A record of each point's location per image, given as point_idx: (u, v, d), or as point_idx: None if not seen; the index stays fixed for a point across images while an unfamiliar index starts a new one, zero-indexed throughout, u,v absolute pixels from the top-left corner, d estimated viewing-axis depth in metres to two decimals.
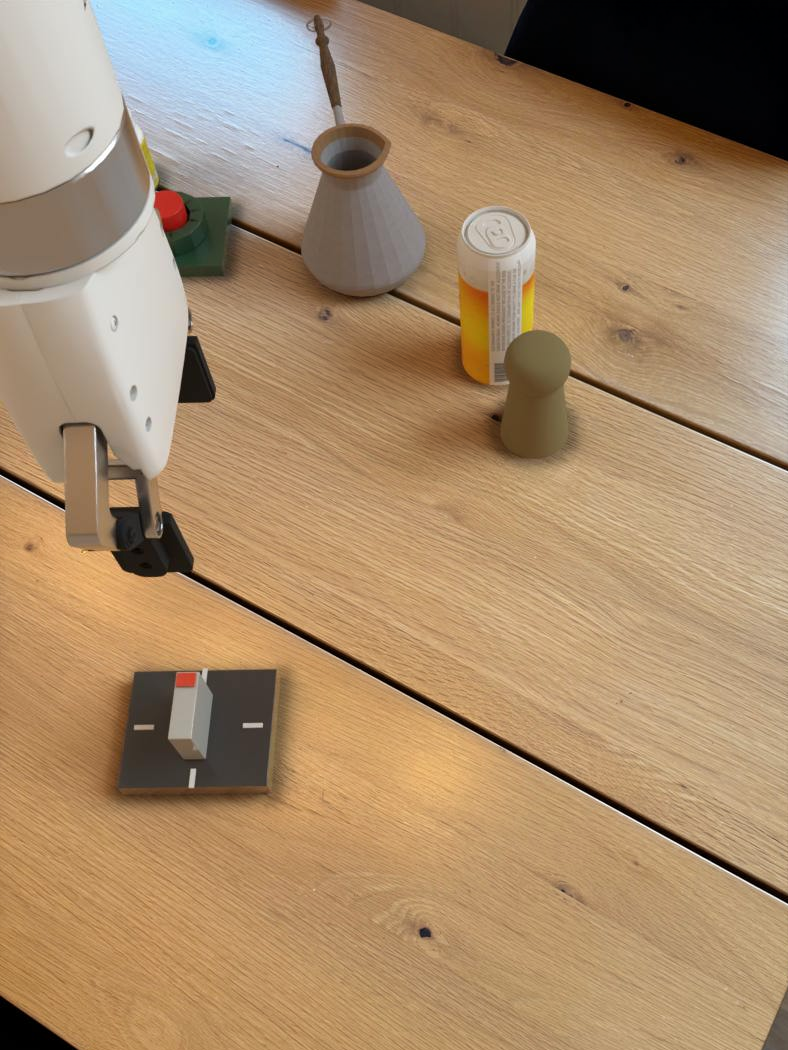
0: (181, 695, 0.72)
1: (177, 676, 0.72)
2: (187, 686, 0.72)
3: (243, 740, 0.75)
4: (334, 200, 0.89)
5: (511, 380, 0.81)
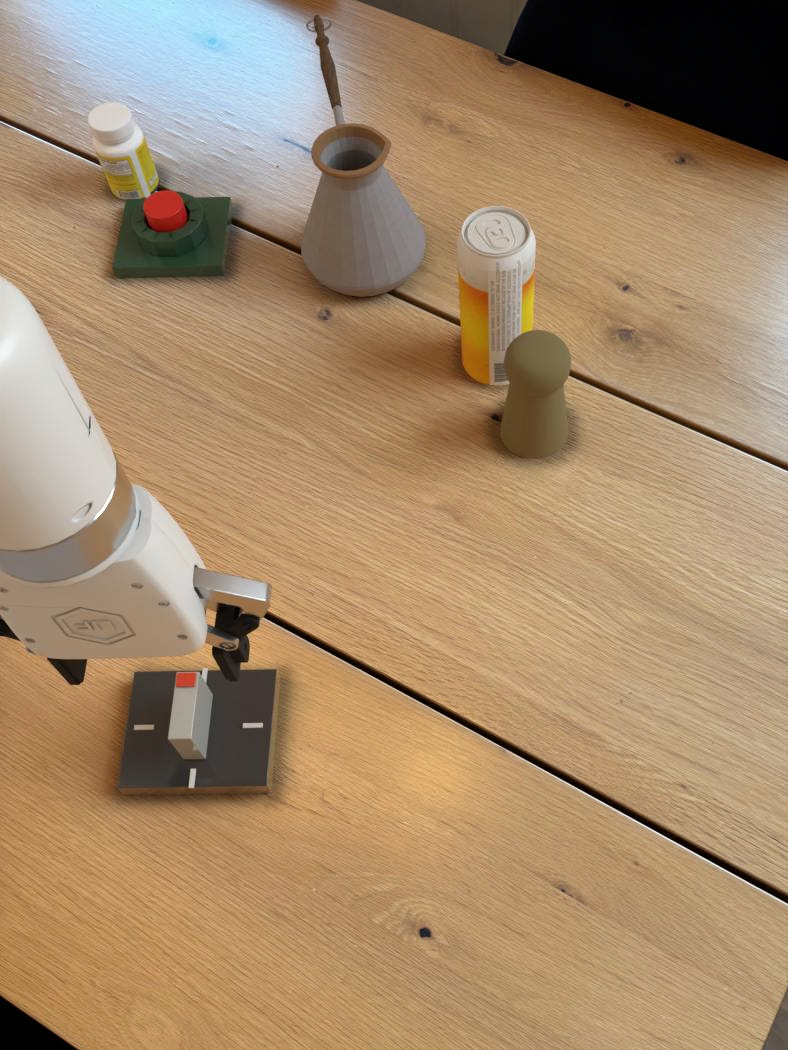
0: (181, 695, 0.72)
1: (177, 676, 0.72)
2: (187, 686, 0.72)
3: (243, 740, 0.75)
4: (334, 200, 0.89)
5: (511, 380, 0.81)
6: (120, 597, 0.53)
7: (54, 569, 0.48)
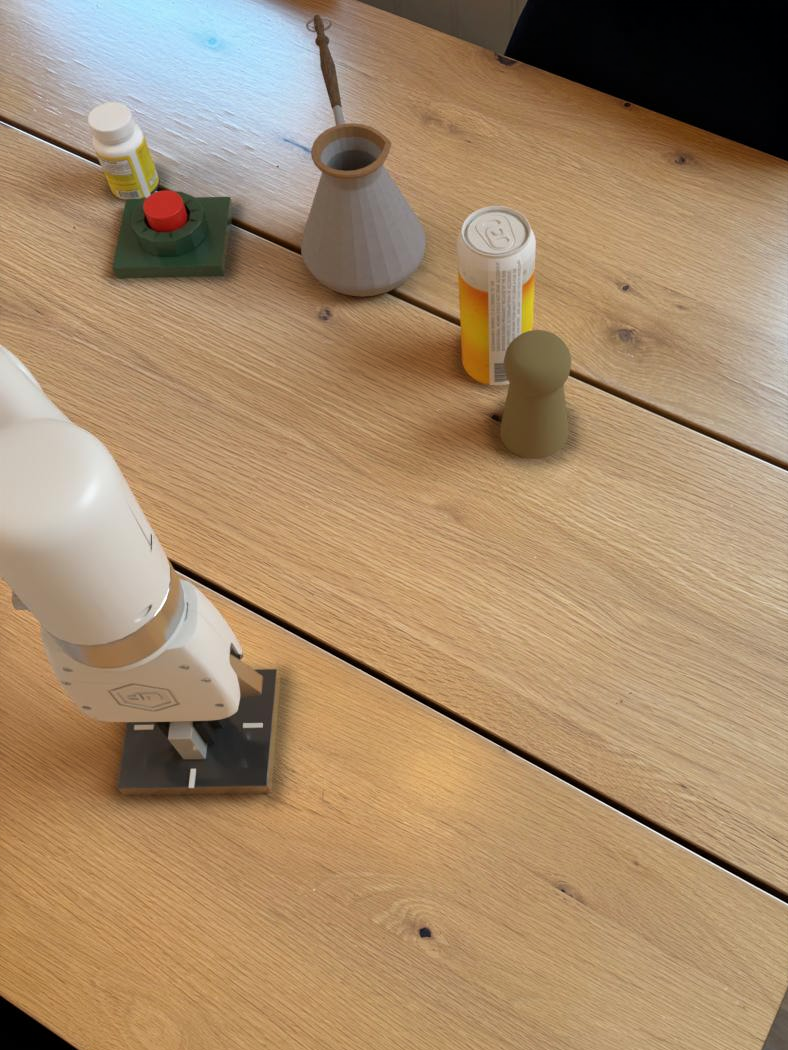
0: None
1: None
2: None
3: (243, 740, 0.75)
4: (334, 200, 0.89)
5: (511, 380, 0.81)
6: (169, 676, 0.61)
7: (117, 658, 0.57)
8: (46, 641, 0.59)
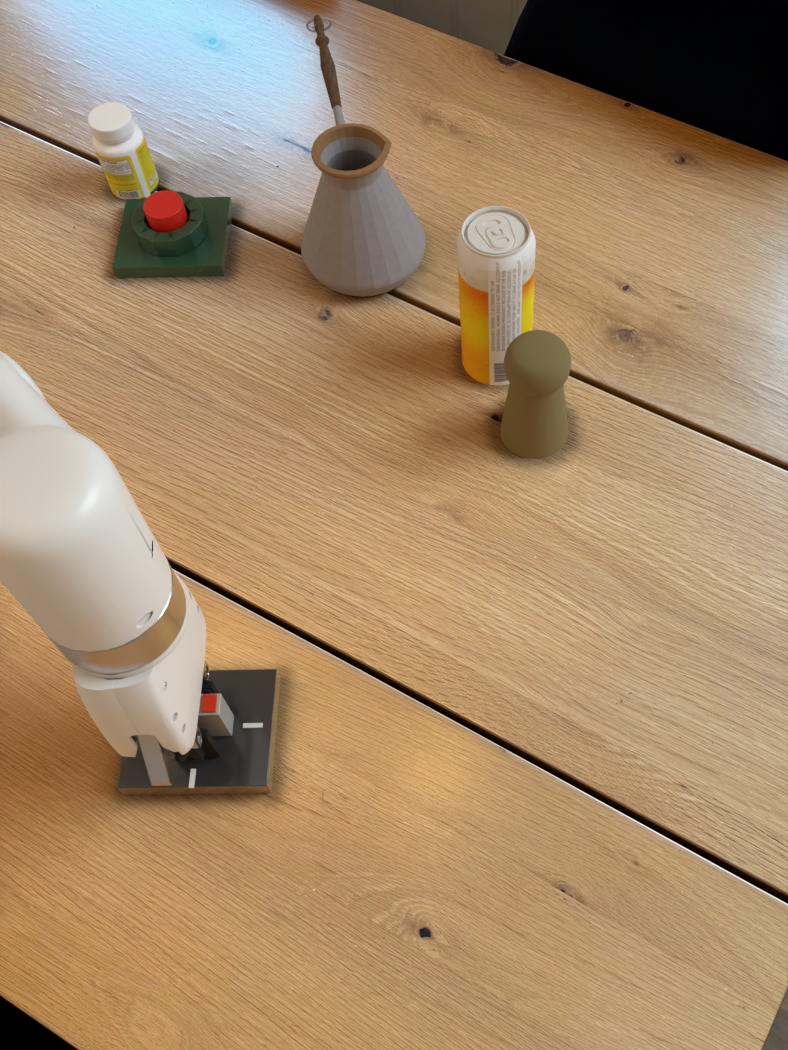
0: None
1: (214, 694, 0.72)
2: (202, 705, 0.72)
3: (243, 740, 0.75)
4: (334, 200, 0.89)
5: (511, 380, 0.81)
6: None
7: None
8: None
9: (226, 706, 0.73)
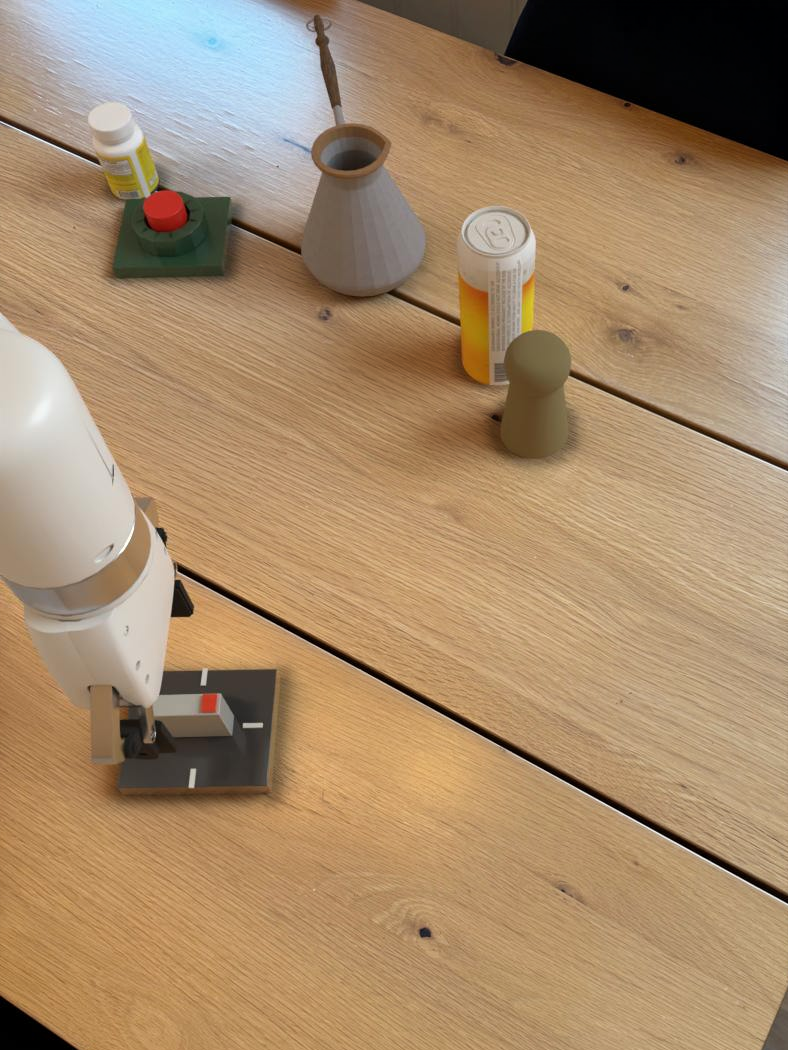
0: (194, 701, 0.72)
1: (214, 694, 0.72)
2: (202, 705, 0.72)
3: (243, 740, 0.75)
4: (334, 200, 0.89)
5: (511, 380, 0.81)
6: None
7: None
8: None
9: (226, 706, 0.73)
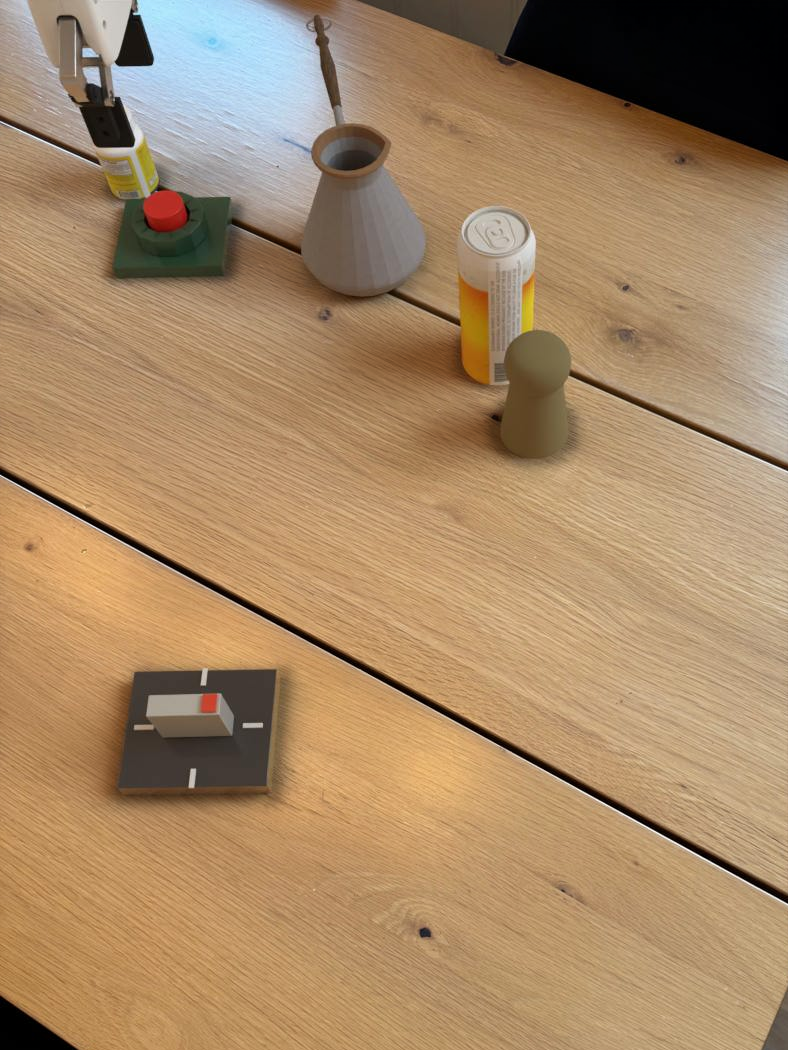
0: (194, 701, 0.72)
1: (214, 694, 0.72)
2: (202, 705, 0.72)
3: (243, 740, 0.75)
4: (334, 200, 0.89)
5: (511, 380, 0.81)
6: None
7: None
8: None
9: (226, 706, 0.73)
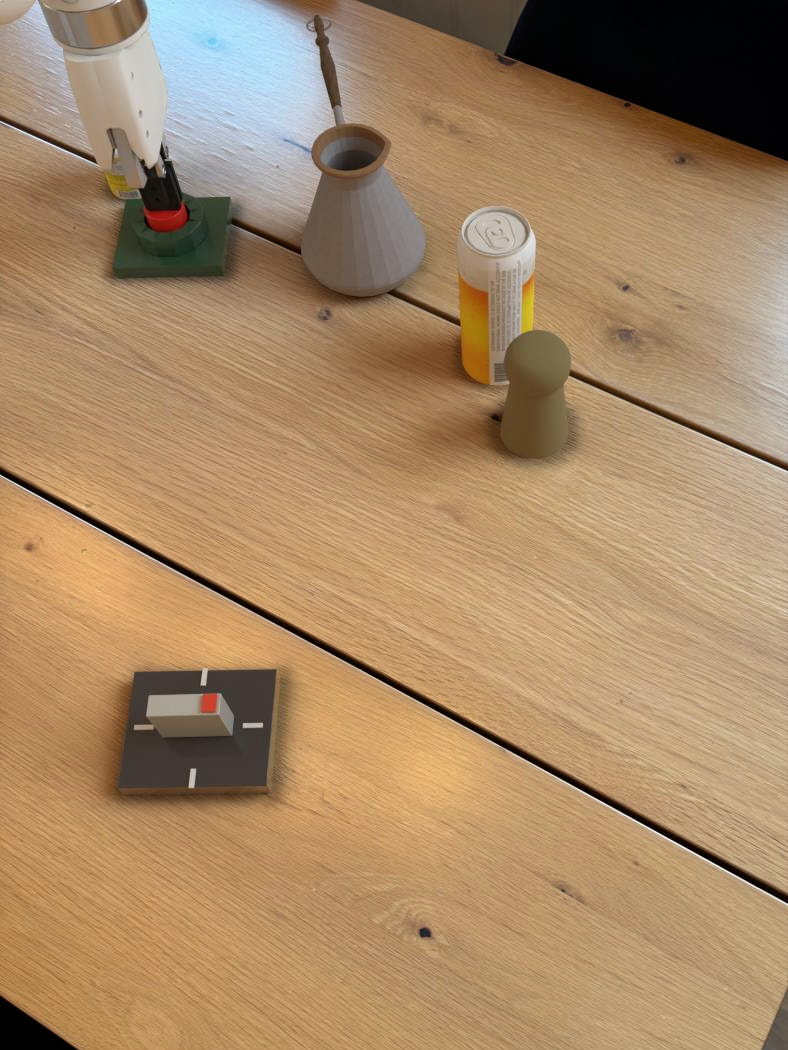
0: (194, 701, 0.72)
1: (214, 694, 0.72)
2: (202, 705, 0.72)
3: (243, 740, 0.75)
4: (334, 200, 0.89)
5: (511, 380, 0.81)
6: None
7: None
8: None
9: (226, 706, 0.73)
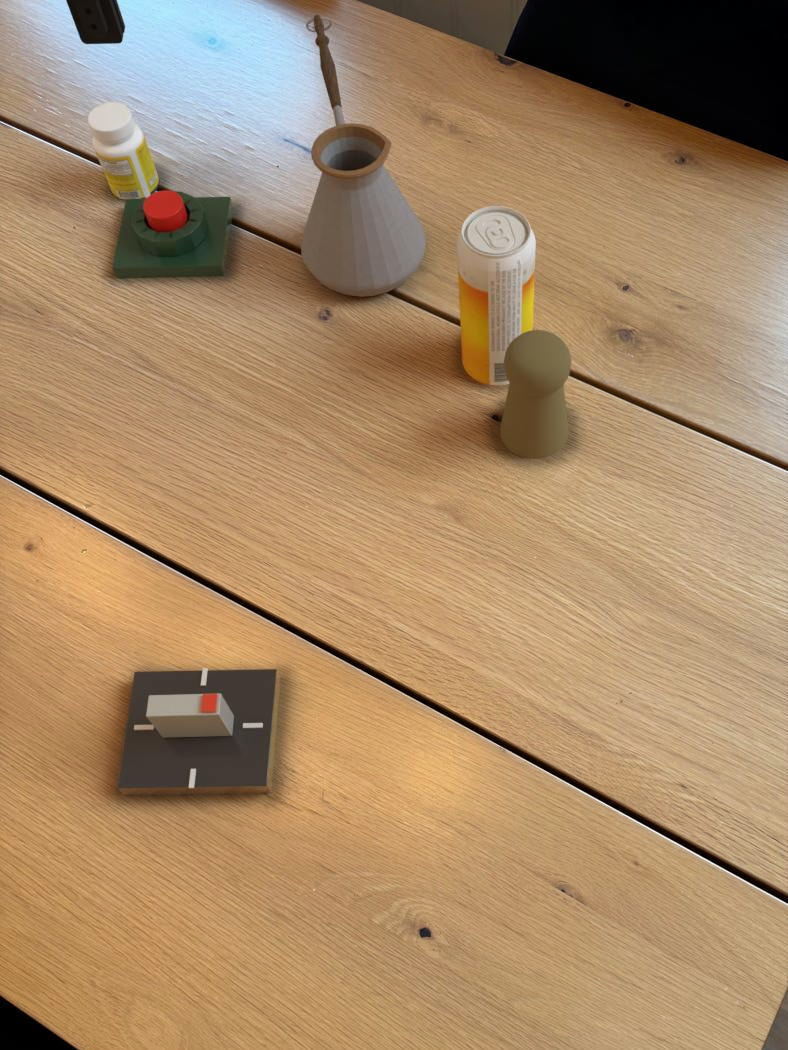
0: (194, 701, 0.72)
1: (214, 694, 0.72)
2: (202, 705, 0.72)
3: (243, 740, 0.75)
4: (334, 200, 0.89)
5: (511, 380, 0.81)
6: None
7: None
8: None
9: (226, 706, 0.73)
